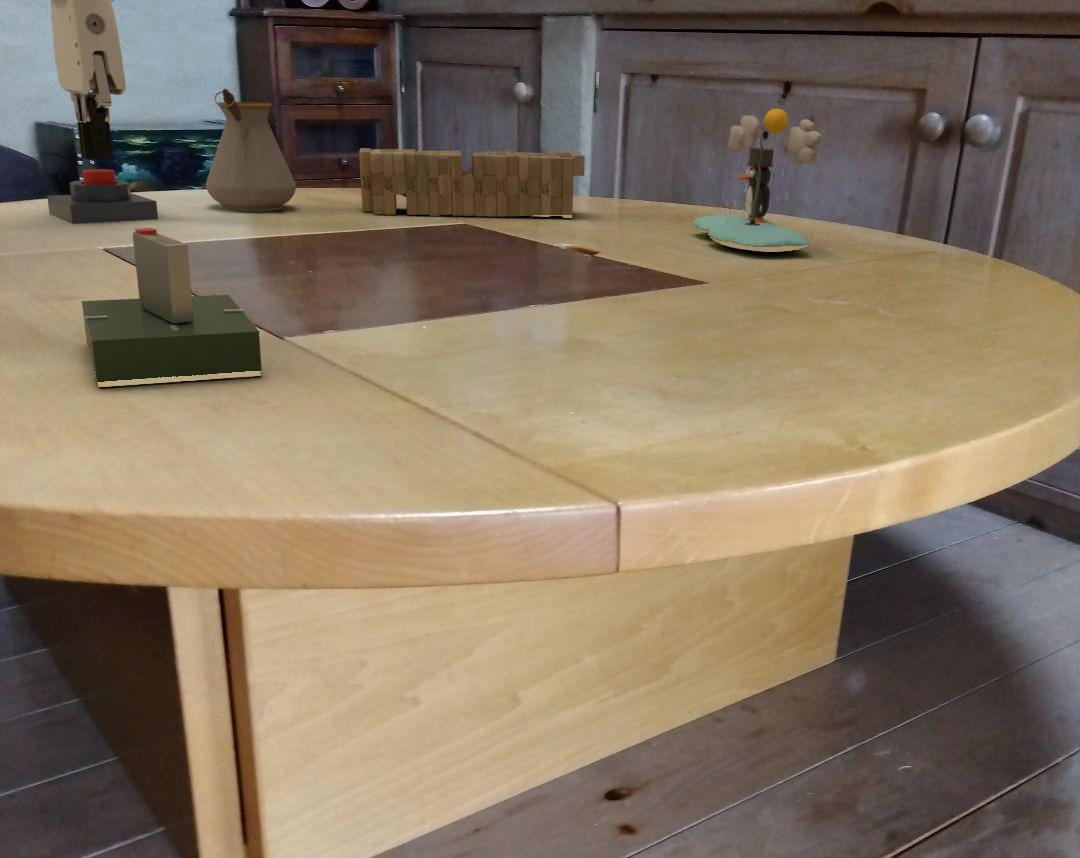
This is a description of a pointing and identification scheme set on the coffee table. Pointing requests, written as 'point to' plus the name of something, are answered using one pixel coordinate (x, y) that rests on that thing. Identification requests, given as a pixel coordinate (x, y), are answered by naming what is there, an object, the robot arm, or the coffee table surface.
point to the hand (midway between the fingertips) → (97, 158)
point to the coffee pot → (248, 161)
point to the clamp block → (169, 340)
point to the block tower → (469, 182)
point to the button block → (101, 204)
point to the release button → (99, 176)
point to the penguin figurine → (762, 183)
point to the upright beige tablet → (163, 276)
